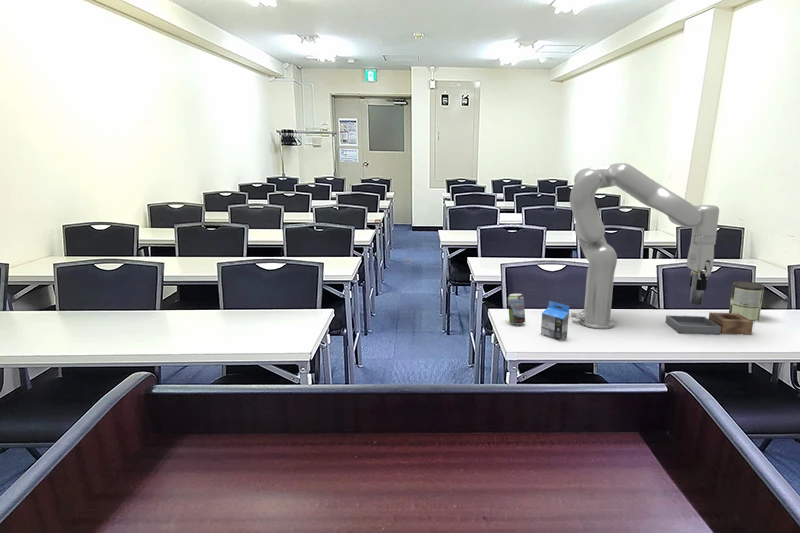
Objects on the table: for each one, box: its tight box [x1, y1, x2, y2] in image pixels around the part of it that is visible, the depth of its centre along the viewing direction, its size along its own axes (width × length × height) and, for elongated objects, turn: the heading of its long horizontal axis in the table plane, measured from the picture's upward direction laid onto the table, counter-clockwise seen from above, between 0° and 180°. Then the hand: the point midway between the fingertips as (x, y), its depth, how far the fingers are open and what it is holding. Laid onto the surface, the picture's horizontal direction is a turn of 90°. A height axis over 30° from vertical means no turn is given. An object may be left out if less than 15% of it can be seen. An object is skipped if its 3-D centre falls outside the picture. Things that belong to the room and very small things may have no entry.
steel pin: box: [689, 271, 705, 306], centre depth 175 cm, size 4×4×12 cm
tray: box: [665, 314, 721, 336], centre depth 179 cm, size 14×12×3 cm
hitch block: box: [708, 311, 754, 336], centre depth 177 cm, size 10×10×5 cm
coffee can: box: [728, 280, 766, 323], centre depth 189 cm, size 10×10×14 cm
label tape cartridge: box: [540, 300, 570, 342], centre depth 171 cm, size 9×4×12 cm, turn 37°
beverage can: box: [507, 293, 526, 325], centre depth 185 cm, size 6×7×12 cm
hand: (697, 288), depth 175 cm, fingers closed on steel pin, 4 cm apart
